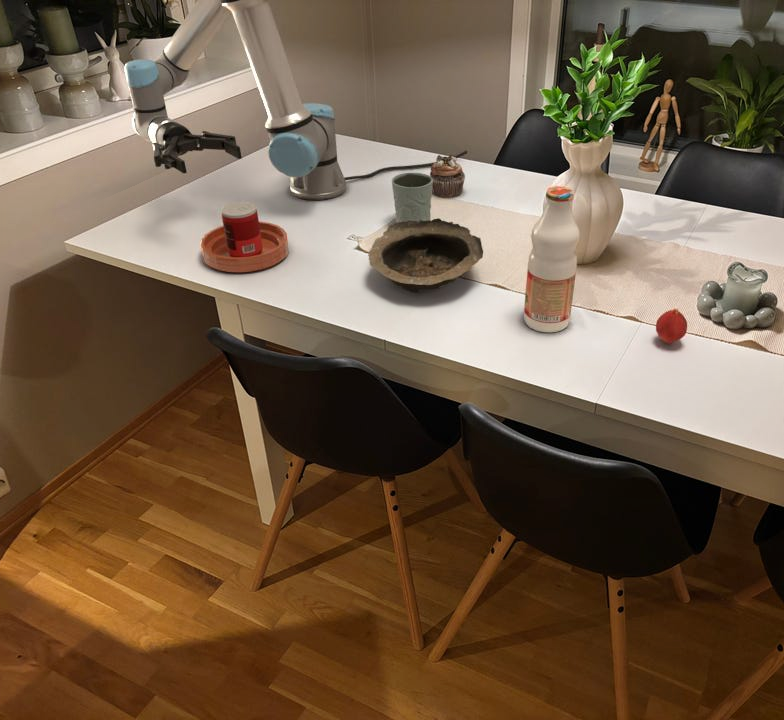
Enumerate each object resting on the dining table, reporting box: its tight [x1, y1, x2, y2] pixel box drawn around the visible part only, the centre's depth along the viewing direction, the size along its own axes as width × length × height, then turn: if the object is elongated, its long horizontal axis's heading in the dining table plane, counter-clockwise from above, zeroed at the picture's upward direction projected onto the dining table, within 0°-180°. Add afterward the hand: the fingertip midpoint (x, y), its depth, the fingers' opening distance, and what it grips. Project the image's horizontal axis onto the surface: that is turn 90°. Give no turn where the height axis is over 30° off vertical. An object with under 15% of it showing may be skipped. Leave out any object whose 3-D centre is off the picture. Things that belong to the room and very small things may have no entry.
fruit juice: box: [523, 185, 581, 333], centre depth 141 cm, size 9×9×28 cm
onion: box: [655, 307, 688, 345], centre depth 141 cm, size 6×6×8 cm
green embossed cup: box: [391, 172, 433, 223], centre depth 182 cm, size 10×10×12 cm
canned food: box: [220, 201, 262, 257], centre depth 167 cm, size 8×8×11 cm
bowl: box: [200, 221, 290, 273], centre depth 170 cm, size 19×19×4 cm
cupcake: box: [429, 154, 466, 199], centre depth 200 cm, size 10×10×10 cm
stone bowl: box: [367, 217, 484, 293], centre depth 160 cm, size 25×25×9 cm
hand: (212, 160), depth 165 cm, fingers open, 13 cm apart
